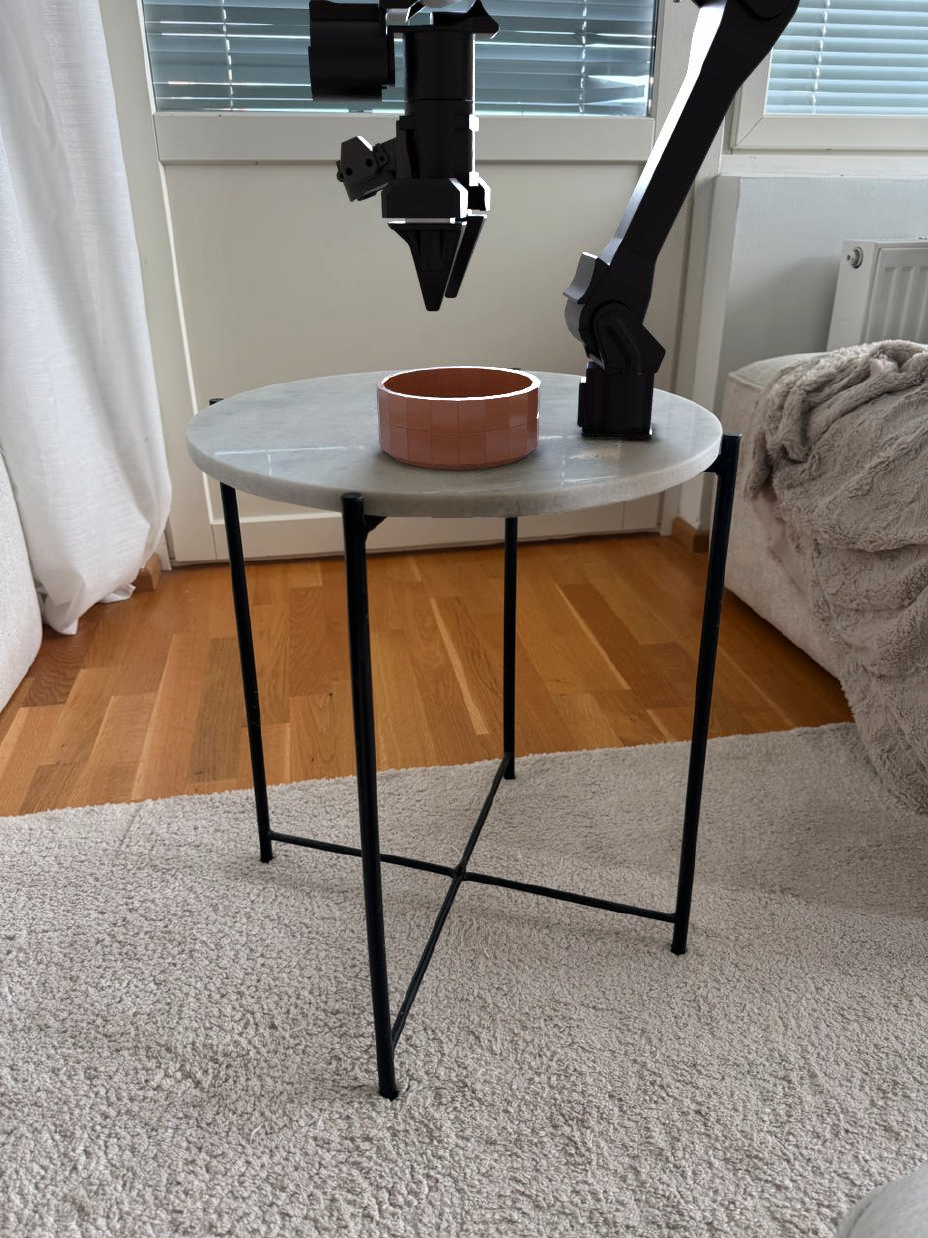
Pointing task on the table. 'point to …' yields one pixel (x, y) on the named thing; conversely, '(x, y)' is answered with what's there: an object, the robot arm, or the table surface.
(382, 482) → the table surface
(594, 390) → the robot arm
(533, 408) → the bowl
